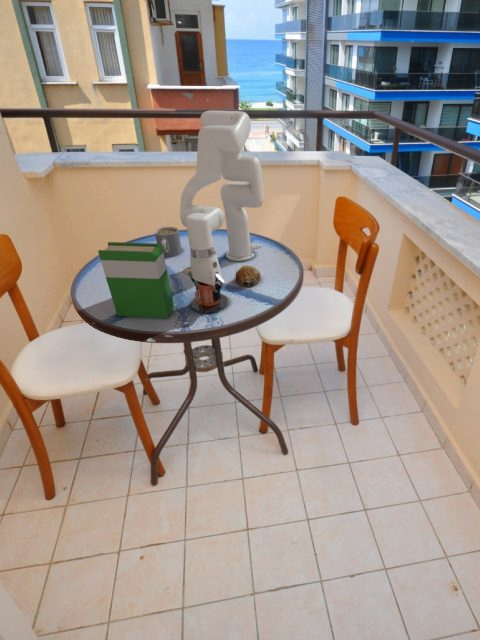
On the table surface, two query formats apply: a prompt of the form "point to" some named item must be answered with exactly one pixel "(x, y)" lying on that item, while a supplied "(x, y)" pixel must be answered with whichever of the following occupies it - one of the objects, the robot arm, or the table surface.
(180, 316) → the table surface
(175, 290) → the table surface
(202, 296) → the wooden mug
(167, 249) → the coffee mug
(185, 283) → the table surface
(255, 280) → the bread roll
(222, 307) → the saucer
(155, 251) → the hardback book
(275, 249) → the table surface
